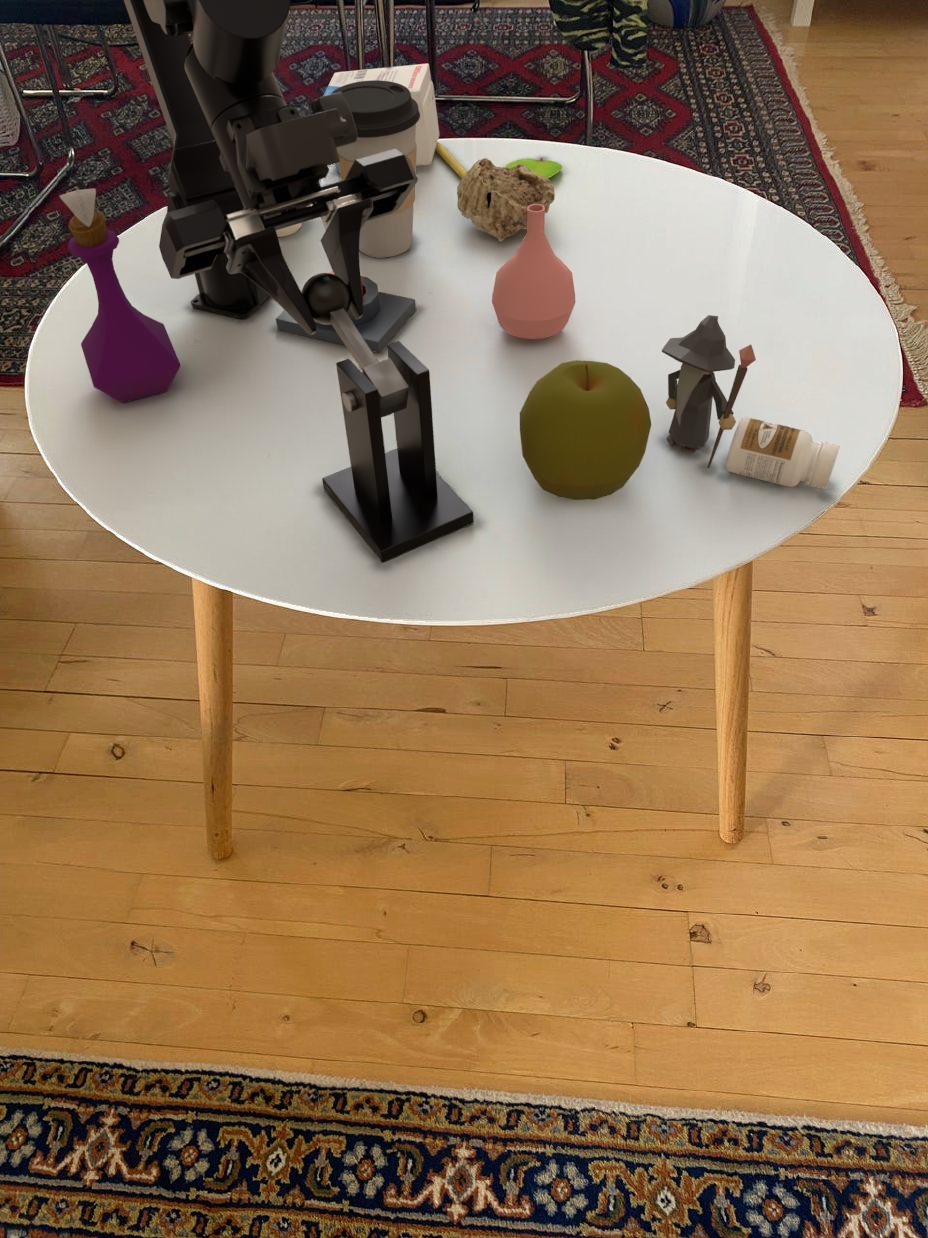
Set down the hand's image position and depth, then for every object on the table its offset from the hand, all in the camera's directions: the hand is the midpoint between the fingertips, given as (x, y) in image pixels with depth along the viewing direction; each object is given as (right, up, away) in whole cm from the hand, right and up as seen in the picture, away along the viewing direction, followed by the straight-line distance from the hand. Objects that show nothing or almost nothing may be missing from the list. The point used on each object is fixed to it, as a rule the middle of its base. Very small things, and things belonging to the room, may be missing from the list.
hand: (336, 324), depth 72 cm
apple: (+19, -11, +6) cm, 22 cm away
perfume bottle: (-20, -1, +17) cm, 26 cm away
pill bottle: (+30, -8, +6) cm, 32 cm away
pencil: (+8, +33, +44) cm, 56 cm away
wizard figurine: (+29, -8, +9) cm, 31 cm away
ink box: (-6, +37, +45) cm, 59 cm away
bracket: (+4, -13, +5) cm, 14 cm away
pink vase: (+16, +6, +21) cm, 27 cm away
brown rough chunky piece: (+14, +21, +35) cm, 43 cm away
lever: (+1, -2, 0) cm, 3 cm away
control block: (-2, +7, +23) cm, 25 cm away
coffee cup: (+1, +18, +33) cm, 38 cm away
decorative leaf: (+18, +29, +45) cm, 57 cm away
